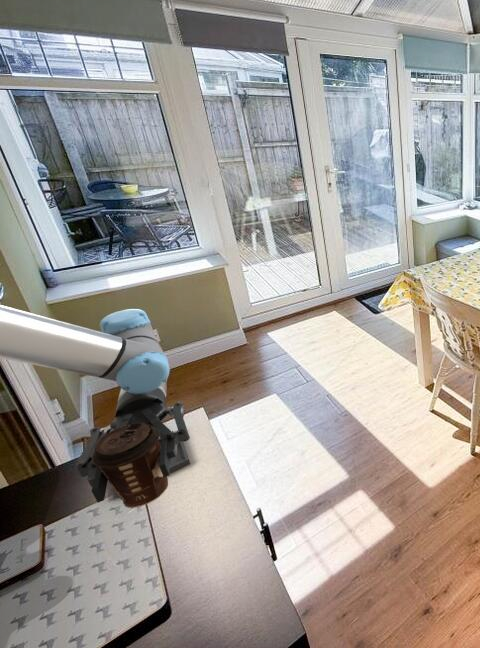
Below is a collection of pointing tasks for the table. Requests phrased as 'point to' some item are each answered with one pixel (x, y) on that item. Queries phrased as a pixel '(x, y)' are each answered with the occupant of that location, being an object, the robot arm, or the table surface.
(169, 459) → the robot arm
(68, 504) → the table surface
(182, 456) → the coaster pad
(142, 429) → the coffee cup
